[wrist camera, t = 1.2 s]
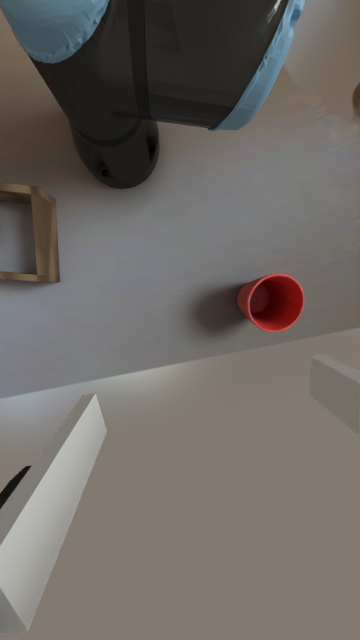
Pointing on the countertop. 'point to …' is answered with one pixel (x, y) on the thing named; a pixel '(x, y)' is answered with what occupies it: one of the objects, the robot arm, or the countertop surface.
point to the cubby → (37, 231)
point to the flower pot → (272, 302)
